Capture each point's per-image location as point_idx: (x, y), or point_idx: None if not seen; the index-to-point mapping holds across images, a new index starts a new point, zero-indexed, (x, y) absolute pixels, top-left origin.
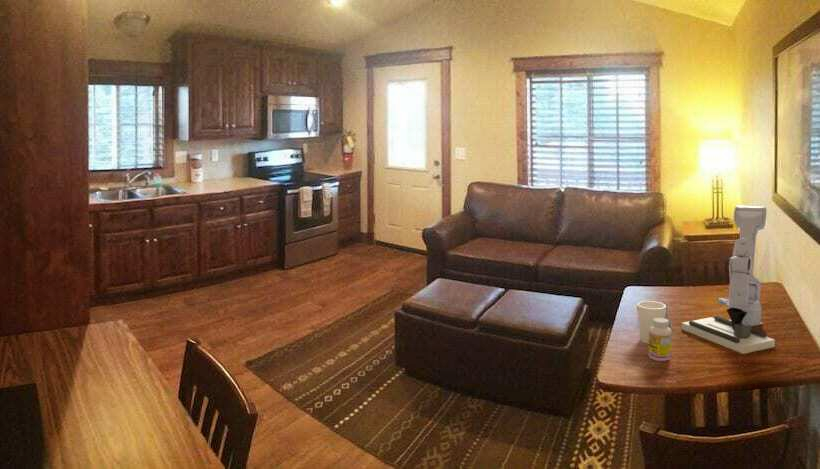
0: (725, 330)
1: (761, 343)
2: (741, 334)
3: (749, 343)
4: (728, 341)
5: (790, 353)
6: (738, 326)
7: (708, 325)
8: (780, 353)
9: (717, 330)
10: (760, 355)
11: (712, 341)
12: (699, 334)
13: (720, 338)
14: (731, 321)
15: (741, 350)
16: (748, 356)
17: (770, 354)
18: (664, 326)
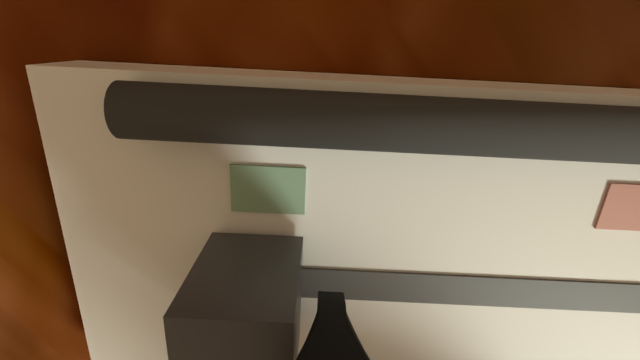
0: (443, 285)
1: (81, 287)
2: (201, 252)
3: (87, 191)
4: (229, 75)
5: (4, 349)
6: (227, 309)
7: (633, 273)
8: (18, 303)
9: (429, 136)
10: (14, 158)
11: (425, 78)
12: (598, 88)
13: (338, 81)
14: (364, 353)
15: (82, 63)
16: (15, 50)
17: (16, 236)
18: None
